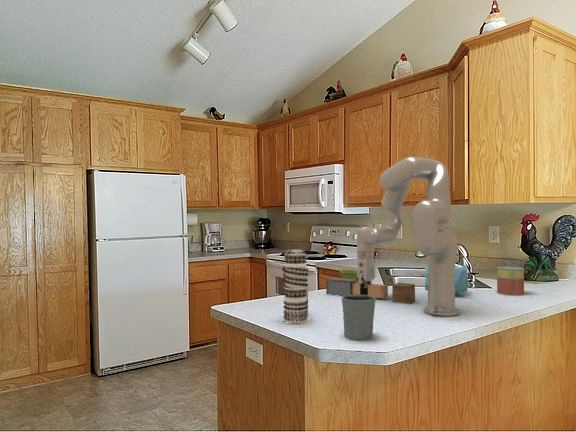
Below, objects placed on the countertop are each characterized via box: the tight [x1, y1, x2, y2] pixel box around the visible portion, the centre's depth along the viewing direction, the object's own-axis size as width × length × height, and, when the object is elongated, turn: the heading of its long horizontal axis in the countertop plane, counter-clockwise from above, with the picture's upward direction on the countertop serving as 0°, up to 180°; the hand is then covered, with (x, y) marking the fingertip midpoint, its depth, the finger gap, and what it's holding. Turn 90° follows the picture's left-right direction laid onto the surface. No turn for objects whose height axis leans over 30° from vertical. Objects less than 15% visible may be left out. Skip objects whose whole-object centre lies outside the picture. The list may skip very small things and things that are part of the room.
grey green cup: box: [341, 295, 377, 341], centre depth 129 cm, size 10×10×12 cm
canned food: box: [496, 265, 525, 297], centre depth 196 cm, size 11×11×12 cm
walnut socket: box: [391, 282, 416, 305], centre depth 179 cm, size 7×8×7 cm
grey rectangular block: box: [325, 276, 358, 297], centre depth 195 cm, size 7×12×7 cm, turn 57°
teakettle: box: [424, 263, 469, 297], centre depth 194 cm, size 19×19×15 cm
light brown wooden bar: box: [351, 282, 389, 299], centre depth 190 cm, size 4×26×5 cm, turn 57°
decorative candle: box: [282, 248, 309, 324], centre depth 147 cm, size 9×9×25 cm
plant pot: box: [339, 269, 357, 279], centre depth 212 cm, size 9×9×9 cm
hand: (365, 295), depth 188 cm, fingers closed on light brown wooden bar, 4 cm apart
